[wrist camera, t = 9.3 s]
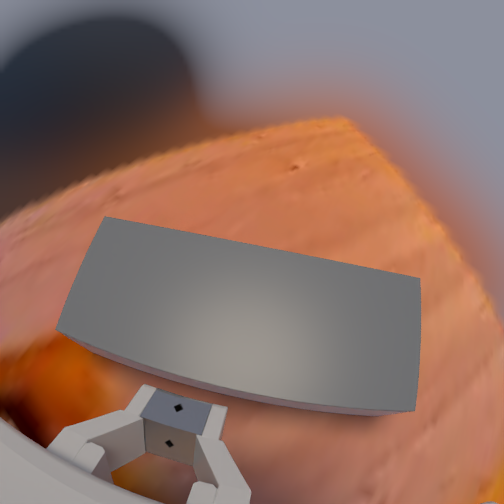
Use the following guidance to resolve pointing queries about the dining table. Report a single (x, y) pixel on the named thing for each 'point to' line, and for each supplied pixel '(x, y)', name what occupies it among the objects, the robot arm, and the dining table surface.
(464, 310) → the dining table surface
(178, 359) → the plate
